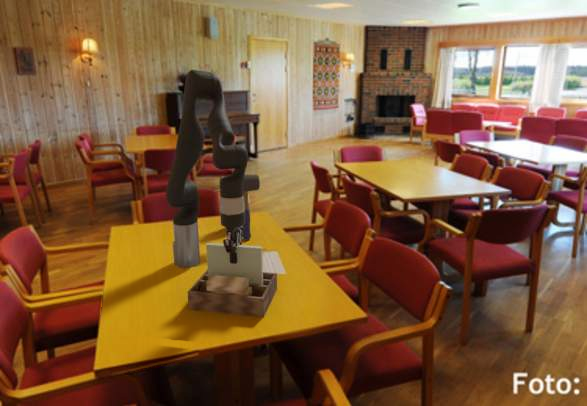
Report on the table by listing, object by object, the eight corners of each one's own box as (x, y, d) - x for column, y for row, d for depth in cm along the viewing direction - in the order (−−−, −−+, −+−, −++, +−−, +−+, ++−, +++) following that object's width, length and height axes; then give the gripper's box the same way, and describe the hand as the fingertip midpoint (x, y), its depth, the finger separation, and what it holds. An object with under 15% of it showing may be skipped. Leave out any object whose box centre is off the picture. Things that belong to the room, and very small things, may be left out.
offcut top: (206, 290, 134) (206, 281, 134) (212, 283, 139) (212, 274, 138) (244, 294, 132) (243, 285, 132) (248, 286, 137) (248, 277, 136)
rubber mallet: (234, 243, 193) (231, 177, 185) (231, 237, 200) (229, 173, 192) (261, 240, 196) (260, 175, 188) (258, 235, 203) (257, 172, 195)
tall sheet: (209, 295, 144) (206, 244, 139) (211, 293, 145) (208, 242, 140) (262, 300, 141) (261, 248, 136) (263, 298, 142) (262, 246, 137)
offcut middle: (210, 299, 135) (209, 290, 134) (216, 292, 140) (215, 283, 139) (247, 303, 133) (247, 294, 132) (252, 295, 138) (251, 286, 137)
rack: (189, 313, 136) (187, 291, 134) (210, 287, 153) (209, 267, 151) (264, 321, 132) (263, 298, 129) (277, 293, 149) (276, 273, 146)
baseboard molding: (256, 291, 151) (290, 288, 154) (256, 283, 151) (290, 280, 153) (248, 256, 181) (277, 254, 183) (248, 250, 180) (277, 248, 182)
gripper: (228, 203, 142) (230, 252, 147) (213, 215, 129) (216, 269, 134) (250, 204, 141) (251, 254, 145) (237, 217, 128) (239, 271, 132)
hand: (234, 261), depth 140 cm, fingers closed on tall sheet, 1 cm apart
